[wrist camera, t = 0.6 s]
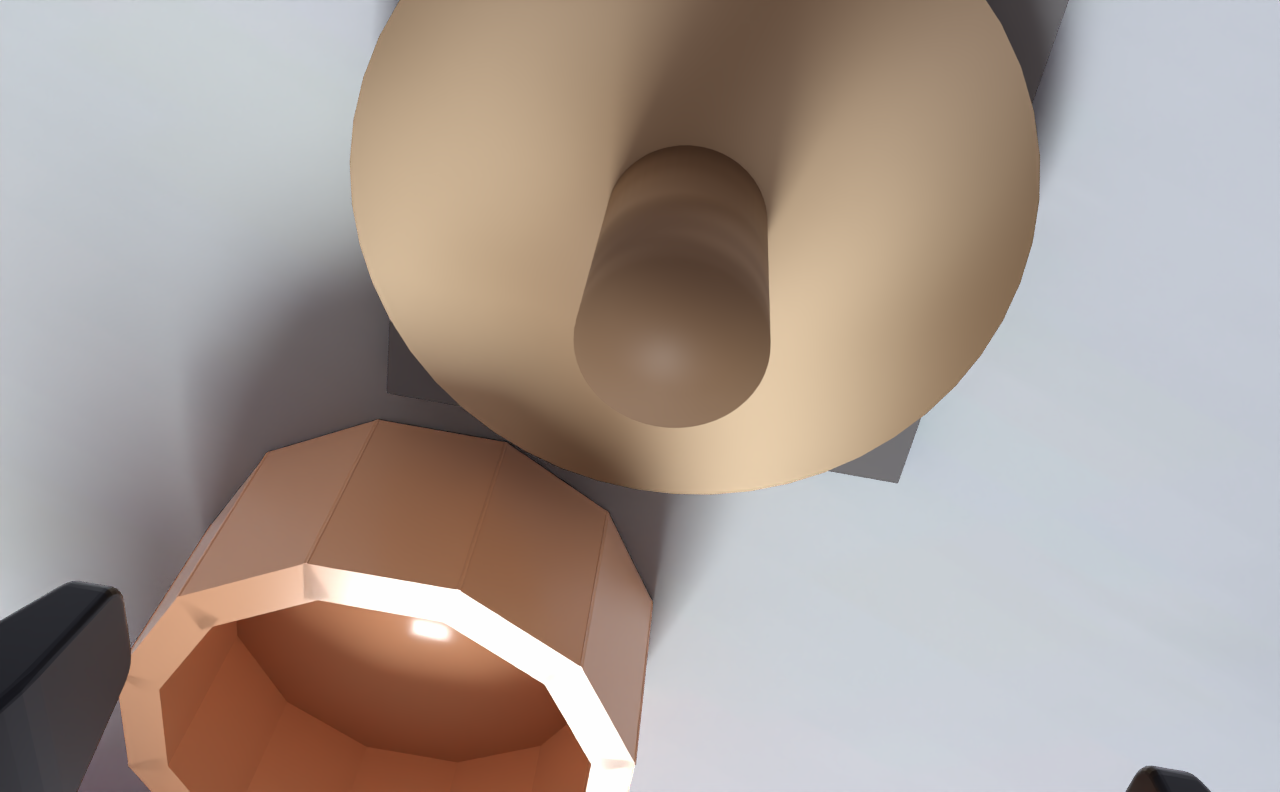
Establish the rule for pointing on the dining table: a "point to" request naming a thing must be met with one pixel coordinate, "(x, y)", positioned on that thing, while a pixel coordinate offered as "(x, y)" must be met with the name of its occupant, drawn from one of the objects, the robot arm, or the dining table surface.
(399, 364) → the mat
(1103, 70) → the dining table surface
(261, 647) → the bowl
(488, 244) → the lid
